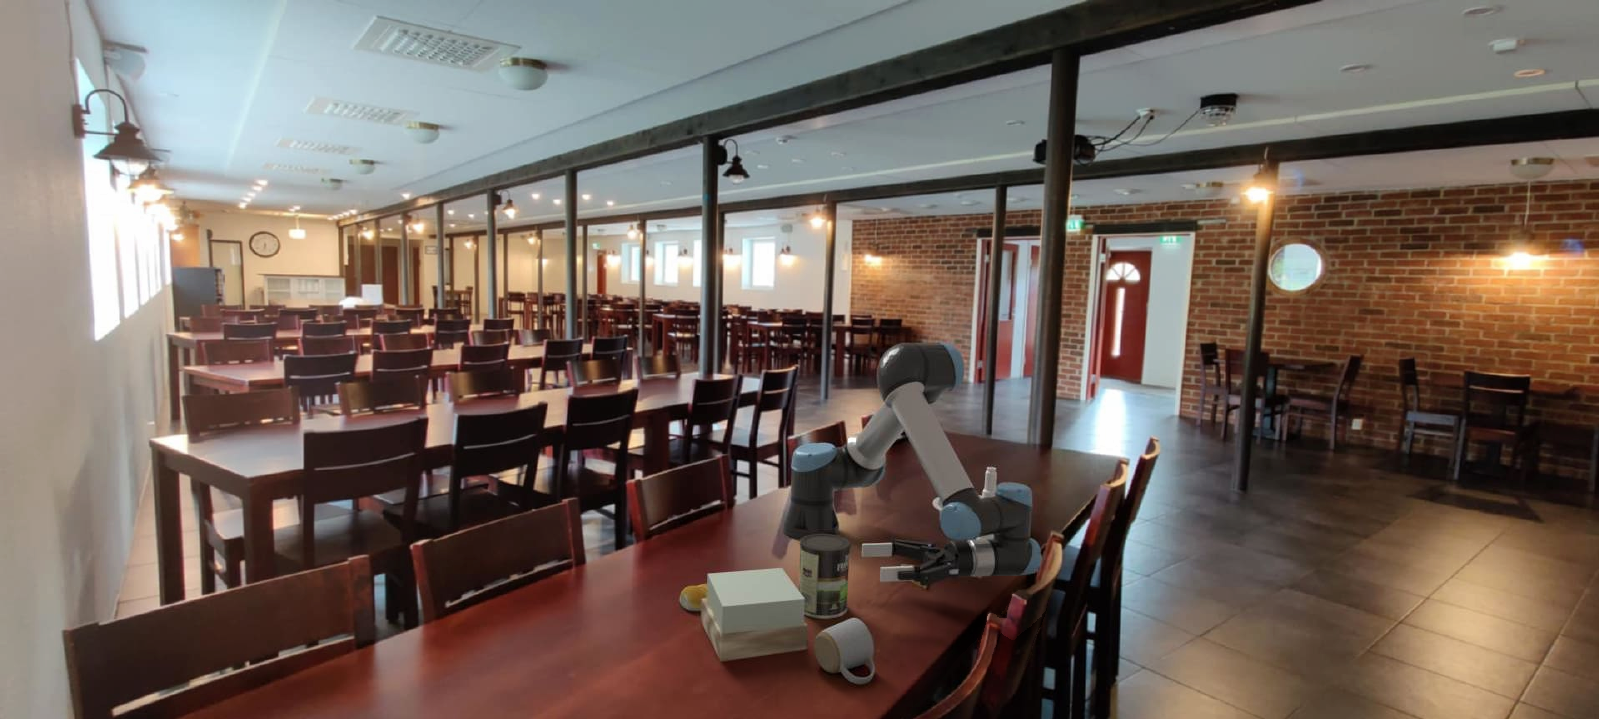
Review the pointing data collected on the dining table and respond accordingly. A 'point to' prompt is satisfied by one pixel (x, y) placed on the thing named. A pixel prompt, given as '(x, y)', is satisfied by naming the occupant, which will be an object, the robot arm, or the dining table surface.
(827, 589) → the coffee can
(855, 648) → the ceramic mug
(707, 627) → the birch block
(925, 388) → the robot arm
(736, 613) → the sage block
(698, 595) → the bread roll
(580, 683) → the dining table surface
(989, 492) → the cosmetic bottle
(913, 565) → the brown sandwich half
